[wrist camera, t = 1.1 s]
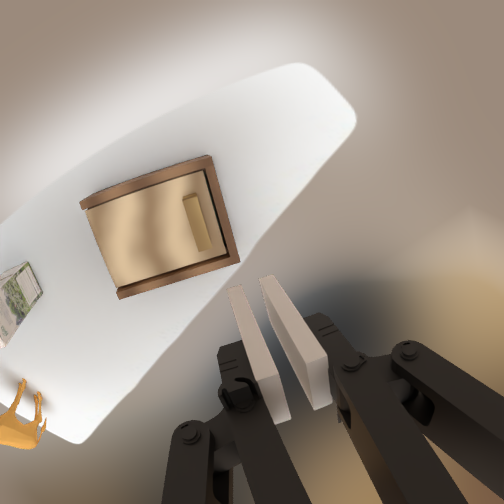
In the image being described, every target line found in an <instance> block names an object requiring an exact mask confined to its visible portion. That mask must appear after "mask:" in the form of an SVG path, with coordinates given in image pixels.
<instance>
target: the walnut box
mask: <svg viewBox="0 0 504 504" xmlns="http://www.w3.org/2000/svg"><path fill="white" fill-rule="evenodd" d="M200 170H203V173H204V177H205V181H206V184H207V188H208V191H209V195H210V198H211V202H212V205H213V209H214V212H215V216H216V219H217V223H218V226H219V230H220V233H221V236H222V240H223V243H224V247H225V250H226V254H223V255H220V256H216V257H213V258H210V259H207V260H204V261H200V262H197V263H194V264H191V265H188V266H184V267H181V268H178V269H175V270H172V271H168V272H165V273H162V274H159V275H156V276H152V277H149V278H146V279H143V280H140V281H137V282H133V283H130V284H127V285H124V286H121V287H118V289H117V292H116V294H117V296H118V298H119V300H120V299H123V298H126V297H129V296H133V295H136V294H139V293H142V292H146V291H149V290H152V289H155V288H159V287H162V286H165V285H168V284H172V283H175V282H178V281H181V280H185V279H188V278H191V277H194V276H197V275H201V274H204V273H207V272H210V271H213V270H217V269H220V268H223V267H226V266H229V265H233V264H236V263H239V262H240V258H239V255H238V251H237V248H236V244H235V241H234V237H233V233H232V230H231V226H230V223H229V219H228V215H227V212H226V208H225V205H224V201H223V197H222V194H221V190H220V186H219V183H218V179H217V175H216V172H215V168H214V164H213V161H212V157H211V156H209V155H205V156H202V157H198V158H195V159H192V160H188V161H185V162H182V163H179V164H175V165H172V166H169V167H166V168H163V169H160V170H157V171H154V172H151V173H148V174H145V175H142V176H139V177H136V178H133V179H131V180H128V181H125V182H122V183H120V184H117V185H114V186H112V187H109V188H106V189H104V190H101V191H99V192H96V193H94V194H92V195H90V196H89V197H87V198H85V199H84V200H82V201H80V202H79V203H80V205H81V208H82V210H84V209H86V208H87V209H90V208H92V207H95V206H97V205H100V204H103V203H105V202H108V201H111V200H113V199H116V198H119V197H121V196H124V195H127V194H130V193H133V192H135V191H138V190H141V189H144V188H147V187H150V186H153V185H156V184H159V183H162V182H165V181H168V180H171V179H174V178H177V177H180V176H184V175H187V174H190V173H193V172H197V171H200Z"/></svg>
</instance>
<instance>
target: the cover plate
mask: <svg viewBox="0 0 504 504" xmlns="http://www.w3.org/2000/svg"><path fill="white" fill-rule="evenodd" d="M85 212H86V215H87V218H88V221H89V223H90V226H91V229H92V231H93V234H94V237H95V239H96V242H97V244H98V247H99V249H100V252H101V254H102V256H103V259H104V261H105V264H106V266H107V268H108V271H109V273H110V275H111V277H112V280H113V282H114V284H115V286H116V288H118V287H121V286H124V285H127V284H130V283H133V282H137V281H140V280H143V279H146V278H149V277H152V276H156V275H159V274H162V273H165V272H168V271H172V270H175V269H178V268H181V267H184V266H188V265H191V264H194V263H197V262H200V261H204V260H207V259H210V258H213V257H216V256H220V255H223V254H226V250H225V247H224V243H223V240H222V236H221V233H220V230H219V226H218V223H217V219H216V216H215V212H214V209H213V205H212V202H211V198H210V195H209V191H208V188H207V184H206V181H205V177H204V173H203V170H200V171H197V172H193V173H190V174H187V175H184V176H180V177H177V178H174V179H171V180H168V181H165V182H162V183H159V184H156V185H153V186H150V187H147V188H144V189H141V190H138V191H135V192H133V193H130V194H127V195H124V196H121V197H119V198H116V199H113V200H111V201H108V202H105V203H103V204H100V205H97V206H95V207H92V208H90V209H87V210H86V211H85Z"/></svg>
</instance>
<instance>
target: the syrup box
mask: <svg viewBox="0 0 504 504" xmlns="http://www.w3.org/2000/svg"><path fill="white" fill-rule="evenodd" d="M42 294H43V292H42V290H41V288H40V286H39V284H38V282H37V280H36V278H35V276H34V274H33V272H32V270H31V268H30V265H29V263H28V262H25V263H23V264H21V265H19V266H16V267H14V268H12V269H10V270H8V271H6V272H4V273H3V274H2V275H1V276H0V348H3V347H6V345H7V344H8V342H9V341H10V339H11V337H12V336H13V334H14V333H15V331H16V330H17V328H18V327H19V326H20V324H21V323H22V321H23V320H24V318H25V317H26V315H27V314H28V313H29V311H30V310H31V309H32V307H33V306H34V304H35V303H36V302H37V300H38V299H39V298H40V296H41V295H42Z"/></svg>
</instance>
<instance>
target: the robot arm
mask: <svg viewBox="0 0 504 504" xmlns="http://www.w3.org/2000/svg"><path fill="white" fill-rule="evenodd" d="M259 282H260V286H261V290H262V294H263V297H264V301H265V305H266V309H267V313H268V317H269V320H270V323H271V325H272V327H273V329H274V331H275V333H276V335H277V337H278V339H279V341H280V343H281V345H282V347H283V349H284V351H285V353H286V355H287V357H288V359H289V361H290V363H291V365H292V367H293V369H294V371H295V373H296V375H297V377H298V379H299V381H300V383H301V385H302V387H303V389H304V391H305V393H306V395H307V397H308V399H309V401H310V403H311V405H312V407H313V409H314V410H317V409H319V408H322V407H324V406H326V405H329V404H331V403H332V397H333V399H334V400H335V402H336V404H337V416H338V422H339V423H340V422H341V420H342V422H343V424H344V426H345V428H346V430H347V432H348V434H349V436H350V438H351V440H352V442H353V444H354V446H355V448H356V450H357V452H358V454H359V456H360V458H361V460H362V462H363V464H364V466H365V468H366V470H367V472H368V474H369V476H370V478H371V480H372V482H373V484H374V486H375V489H376V490H377V493H378V494H379V497H380V498H381V500H382V503H383V504H468V502H467V501H466V499H465V498H464V496H463V494H462V493H461V491H460V490H459V488H458V487H457V485H456V484H455V482H454V481H453V479H452V477H451V476H450V474H449V473H448V471H447V470H446V468H445V467H444V465H443V464H442V462H441V461H440V459H439V458H438V456H437V455H436V453H435V452H434V450H433V449H432V447H431V446H430V444H429V443H428V441H427V440H426V438H425V437H424V435H425V436H426V437H427V438H428V439H430V440H431V441H432V442H433V443H435V444H436V445H437V446H438V447H439V448H440V449H442V450H443V451H444V452H445V453H447V454H448V455H449V456H450V457H451V458H452V459H454V460H455V461H456V462H457V463H459V464H460V465H461V466H462V467H463V468H465V469H466V470H467V471H468V472H469V473H471V474H472V475H473V476H474V477H476V478H477V479H478V480H479V481H481V482H482V483H483V484H484V485H485V486H487V487H488V488H489V489H490V490H492V491H493V492H494V493H496V494H497V495H498V496H499V497H500V498H502V499H503V500H504V397H503V396H501V395H500V394H498V393H497V392H495V391H494V390H492V389H490V388H489V387H487V386H486V385H484V384H483V383H481V382H480V381H478V380H477V379H475V378H474V377H472V376H471V375H469V374H468V373H466V372H464V371H463V370H461V369H460V368H458V367H457V366H455V365H454V364H452V363H451V362H449V361H447V360H446V359H444V358H443V357H441V356H440V355H438V354H437V353H435V352H434V351H432V350H430V349H429V348H427V347H426V346H424V345H423V344H421V343H419V342H416V341H410V340H408V341H403V342H400V343H399V344H396V346H395V347H394V348H393V350H392V353H391V354H389V355H384V356H379V357H368V356H366V355H365V354H364V353H361V352H356V351H355V350H354V348H353V347H352V346H351V344H350V343H349V342H348V341H347V339H346V338H345V337H344V336H343V335H342V333H341V332H340V331H339V330H338V328H337V327H336V326H335V325H334V323H333V322H332V321H331V320H330V318H329V317H328V316H326V315H323V314H321V313H316V314H314V315H311V316H308V317H306V318H302V317H301V315H300V314H299V312H298V311H297V309H296V308H295V306H294V305H293V303H292V302H291V300H290V299H289V297H288V296H287V294H286V293H285V291H284V290H283V288H282V287H281V286H280V284H279V282H278V281H277V279H276V278H275V277H274V275H273V274H272V275H269V276H266V277H263V278H260V279H259ZM227 293H228V296H229V300H230V302H231V305H232V309H233V312H234V316H235V319H236V322H237V325H238V328H239V331H240V334H241V337H242V340H240V341H237V342H234V343H231V344H228V345H224V346H221V347H220V349H219V351H218V354H217V359H218V364H219V368H220V373H221V379H222V384H221V386H220V387H219V389H218V397H219V399H220V400H221V403H222V404H223V406H224V408H223V410H222V411H221V412H220V413H219V414H218V415H217V416H216V417H214V418H213V419H211V420H209V421H207V422H205V423H203V422H201V421H197V420H191V421H187V422H184V423H182V424H181V425H179V426H178V427H177V428H176V429H175V431H174V433H173V435H172V440H171V445H170V451H169V457H168V464H167V470H166V476H165V483H164V490H163V496H162V504H233V467H234V466H236V465H238V464H240V463H242V466H243V469H244V472H245V475H246V477H247V481H248V484H249V487H250V490H251V493H252V495H253V498H254V501H255V504H312V503H311V501H310V499H309V497H308V495H307V493H306V491H305V489H304V487H303V485H302V482H301V480H300V478H299V476H298V474H297V472H296V470H295V468H294V466H293V463H292V461H291V459H290V457H289V455H288V453H287V450H286V448H285V446H284V444H283V442H282V439H281V437H280V435H279V433H278V430H277V428H276V426H275V424H278V423H281V422H284V421H287V420H290V419H291V416H290V412H289V409H288V405H287V401H286V398H285V394H284V391H283V387H282V384H281V380H280V377H279V373H278V371H277V369H276V366H275V364H274V361H273V359H272V357H271V355H270V352H269V350H268V348H267V345H266V343H265V341H264V338H263V336H262V334H261V331H260V329H259V327H258V324H257V322H256V320H255V317H254V315H253V312H252V310H251V308H250V305H249V303H248V300H247V298H246V296H245V293H244V291H243V288H242V286H241V285H238V286H234V287H231V288H228V289H227ZM422 433H423V434H424V435H423V434H422Z"/></svg>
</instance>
